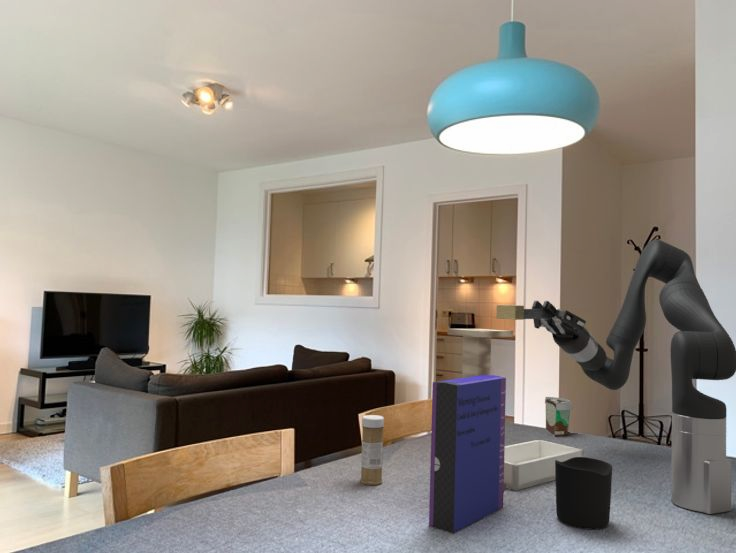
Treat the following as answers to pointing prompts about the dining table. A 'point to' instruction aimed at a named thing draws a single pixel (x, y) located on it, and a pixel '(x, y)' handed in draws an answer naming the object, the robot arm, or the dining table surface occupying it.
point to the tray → (534, 462)
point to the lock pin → (519, 313)
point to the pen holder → (583, 492)
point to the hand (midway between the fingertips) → (539, 304)
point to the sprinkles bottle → (372, 449)
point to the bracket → (477, 350)
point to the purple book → (466, 451)
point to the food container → (557, 416)
